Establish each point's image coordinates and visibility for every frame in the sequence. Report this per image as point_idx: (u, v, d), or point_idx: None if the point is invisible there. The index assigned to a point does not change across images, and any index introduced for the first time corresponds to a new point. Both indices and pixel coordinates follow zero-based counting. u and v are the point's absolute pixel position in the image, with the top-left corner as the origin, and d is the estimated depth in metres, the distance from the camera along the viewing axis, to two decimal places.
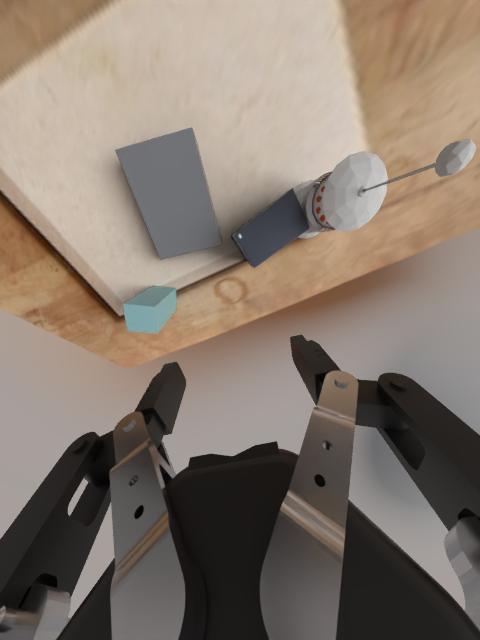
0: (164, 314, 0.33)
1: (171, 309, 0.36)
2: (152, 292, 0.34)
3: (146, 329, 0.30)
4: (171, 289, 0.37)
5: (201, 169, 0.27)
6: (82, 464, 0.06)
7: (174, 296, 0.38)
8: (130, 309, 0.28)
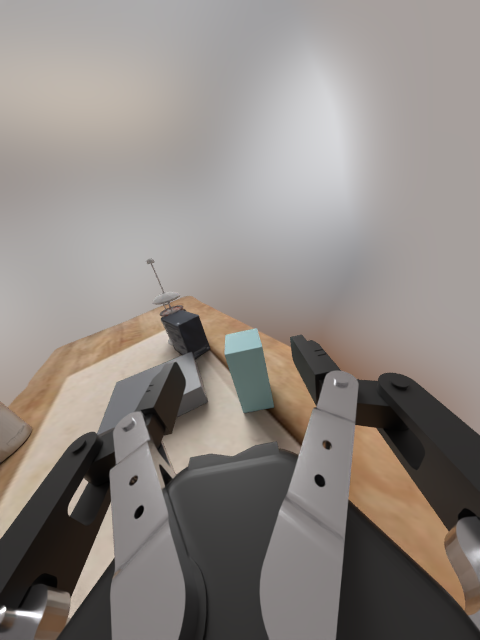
0: None
1: None
2: None
3: (254, 334, 0.25)
4: None
5: (141, 372, 0.36)
6: (82, 464, 0.06)
7: None
8: (231, 348, 0.23)
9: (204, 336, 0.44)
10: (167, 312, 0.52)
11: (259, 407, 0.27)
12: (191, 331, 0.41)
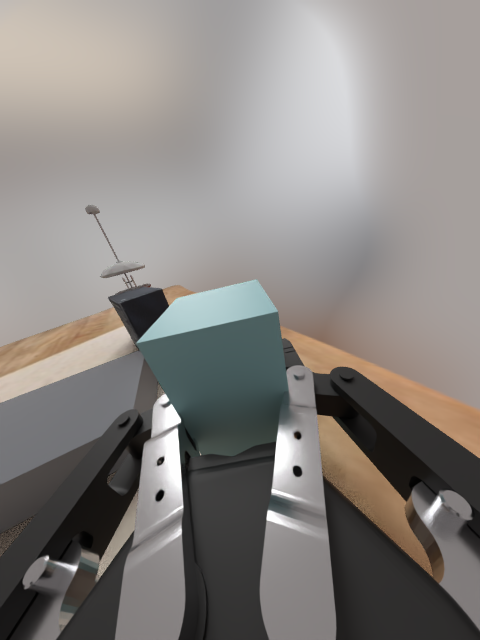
0: None
1: None
2: None
3: (250, 289, 0.09)
4: None
5: (47, 385, 0.20)
6: (123, 440, 0.07)
7: None
8: (169, 323, 0.07)
9: None
10: None
11: None
12: (148, 314, 0.25)
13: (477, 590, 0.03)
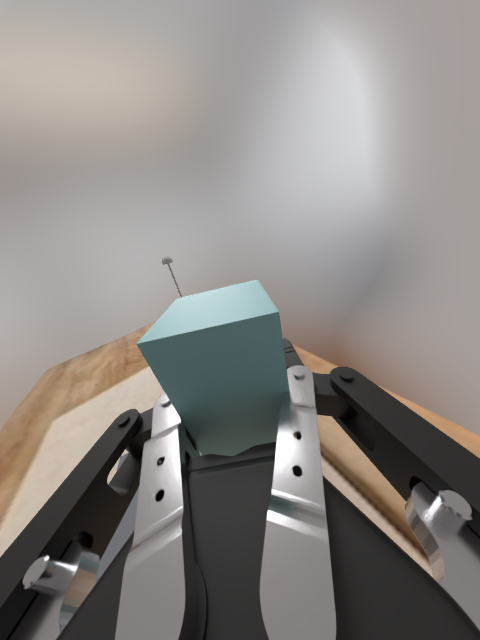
0: None
1: None
2: None
3: (250, 289, 0.09)
4: None
5: None
6: (123, 440, 0.07)
7: None
8: (170, 324, 0.07)
9: None
10: None
11: None
12: None
13: (476, 588, 0.03)
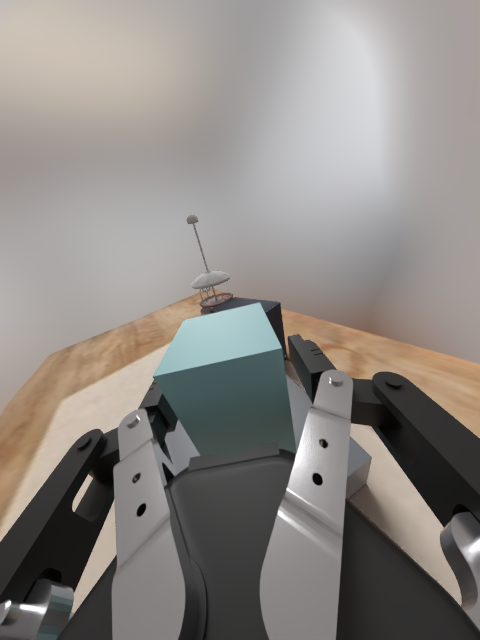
0: None
1: None
2: None
3: (254, 315, 0.09)
4: None
5: None
6: (87, 461, 0.07)
7: None
8: (181, 354, 0.07)
9: (283, 337, 0.27)
10: (209, 302, 0.35)
11: None
12: None
13: None
